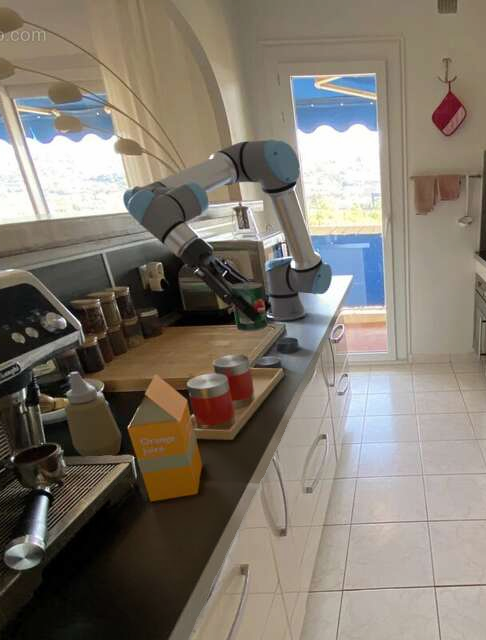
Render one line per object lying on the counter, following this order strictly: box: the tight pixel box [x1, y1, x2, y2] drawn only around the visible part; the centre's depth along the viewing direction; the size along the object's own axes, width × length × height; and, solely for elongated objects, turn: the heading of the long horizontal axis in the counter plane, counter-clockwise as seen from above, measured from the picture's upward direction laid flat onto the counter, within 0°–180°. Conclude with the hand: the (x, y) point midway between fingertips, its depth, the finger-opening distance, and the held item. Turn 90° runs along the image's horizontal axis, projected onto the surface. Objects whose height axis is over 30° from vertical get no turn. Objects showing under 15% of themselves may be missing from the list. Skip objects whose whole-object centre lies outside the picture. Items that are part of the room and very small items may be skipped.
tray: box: [190, 367, 285, 441], centre depth 110 cm, size 35×12×2 cm, turn 176°
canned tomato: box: [229, 281, 269, 332], centre depth 115 cm, size 8×8×11 cm
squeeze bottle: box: [64, 371, 122, 457], centre depth 86 cm, size 8×8×18 cm
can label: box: [212, 354, 255, 409], centre depth 108 cm, size 8×8×11 cm
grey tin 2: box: [275, 336, 300, 354], centre depth 146 cm, size 7×7×3 cm
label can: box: [186, 373, 236, 430], centre depth 97 cm, size 8×8×11 cm
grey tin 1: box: [255, 355, 283, 369], centre depth 130 cm, size 7×7×3 cm
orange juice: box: [127, 373, 203, 502], centre depth 77 cm, size 8×9×20 cm
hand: (262, 313), depth 116 cm, fingers closed on canned tomato, 8 cm apart
